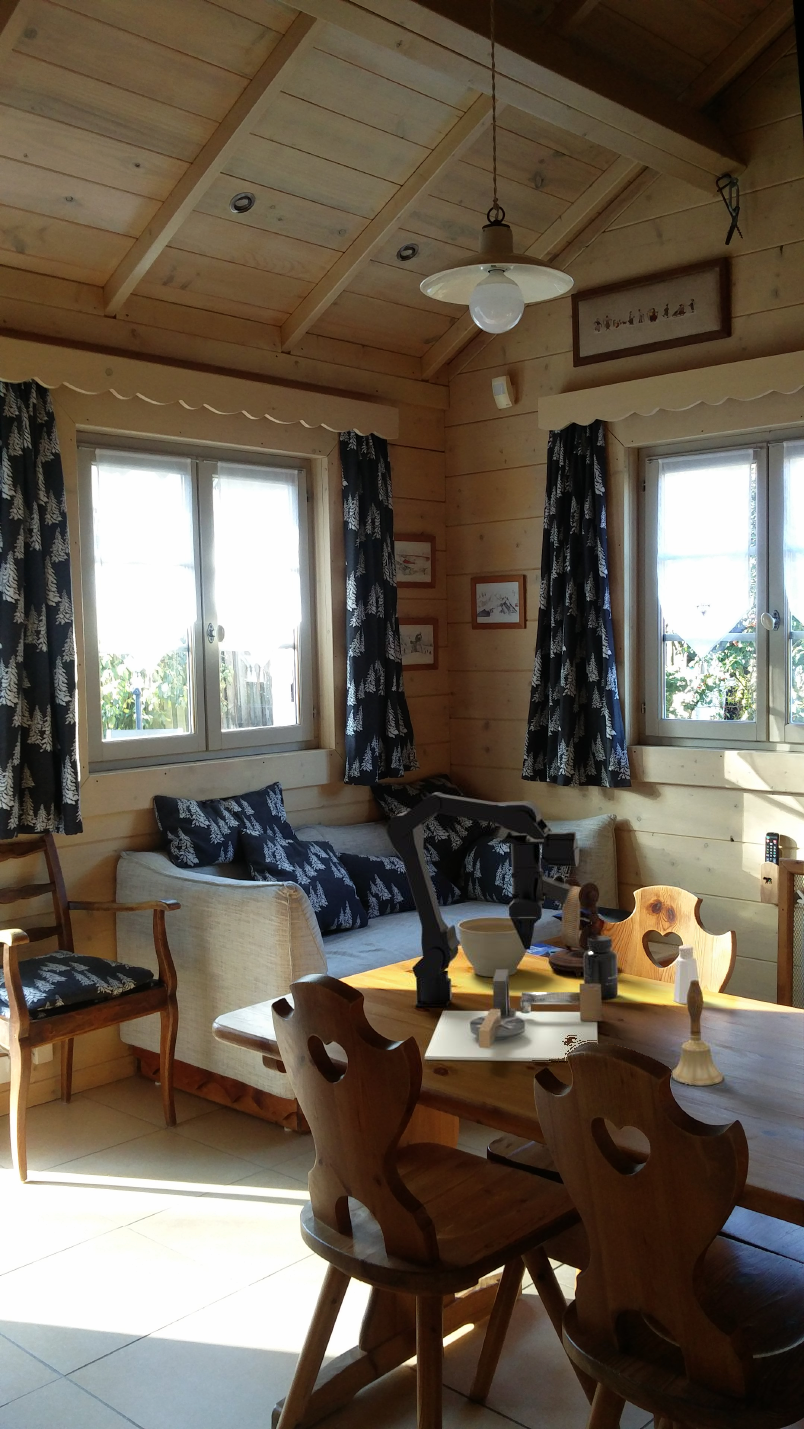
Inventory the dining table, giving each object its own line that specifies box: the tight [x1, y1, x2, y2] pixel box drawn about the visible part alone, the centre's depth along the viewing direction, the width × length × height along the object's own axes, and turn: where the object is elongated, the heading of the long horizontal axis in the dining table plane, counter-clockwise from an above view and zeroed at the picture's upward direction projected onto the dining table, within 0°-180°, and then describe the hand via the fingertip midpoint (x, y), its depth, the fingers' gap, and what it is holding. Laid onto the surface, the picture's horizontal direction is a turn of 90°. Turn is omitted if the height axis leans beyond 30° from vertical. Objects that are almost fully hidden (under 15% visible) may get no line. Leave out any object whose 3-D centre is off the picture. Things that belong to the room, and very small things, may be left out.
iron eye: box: [492, 969, 516, 1016], centre depth 229 cm, size 4×10×8 cm, turn 171°
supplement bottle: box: [583, 935, 619, 1001], centre depth 244 cm, size 7×7×12 cm
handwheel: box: [470, 1008, 525, 1048], centre depth 214 cm, size 16×16×4 cm
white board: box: [424, 1010, 598, 1062], centre depth 220 cm, size 30×27×2 cm
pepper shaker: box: [673, 944, 700, 1005], centre depth 238 cm, size 5×5×11 cm
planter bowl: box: [457, 916, 528, 978], centre depth 265 cm, size 16×16×11 cm
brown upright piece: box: [548, 877, 602, 978], centre depth 265 cm, size 15×15×20 cm
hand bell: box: [672, 980, 724, 1087], centre depth 195 cm, size 8×8×16 cm
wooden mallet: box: [519, 983, 603, 1022], centre depth 227 cm, size 15×4×6 cm, turn 81°
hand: (528, 943), depth 237 cm, fingers open, 9 cm apart
